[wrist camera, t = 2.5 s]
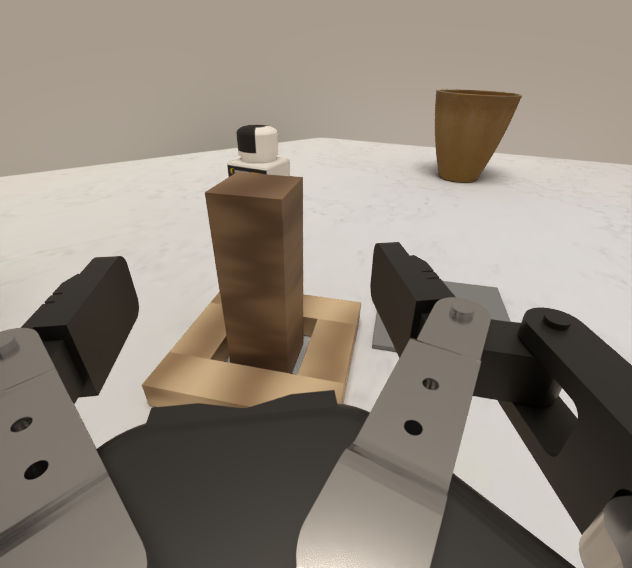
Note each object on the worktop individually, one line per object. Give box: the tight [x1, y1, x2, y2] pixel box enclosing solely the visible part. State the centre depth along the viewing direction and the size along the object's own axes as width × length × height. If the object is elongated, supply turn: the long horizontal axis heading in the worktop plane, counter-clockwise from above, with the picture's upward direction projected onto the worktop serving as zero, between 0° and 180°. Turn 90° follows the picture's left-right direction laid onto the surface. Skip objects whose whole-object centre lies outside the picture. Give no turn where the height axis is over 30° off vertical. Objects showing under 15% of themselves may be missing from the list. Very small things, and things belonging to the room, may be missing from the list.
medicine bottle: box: [227, 125, 290, 177], centre depth 56 cm, size 7×7×12 cm
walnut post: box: [205, 172, 303, 374], centre depth 25 cm, size 4×4×14 cm
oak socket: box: [142, 292, 361, 408], centre depth 28 cm, size 13×13×2 cm
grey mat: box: [372, 281, 510, 352], centre depth 34 cm, size 12×12×1 cm
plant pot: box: [435, 90, 522, 183], centre depth 71 cm, size 15×15×16 cm
